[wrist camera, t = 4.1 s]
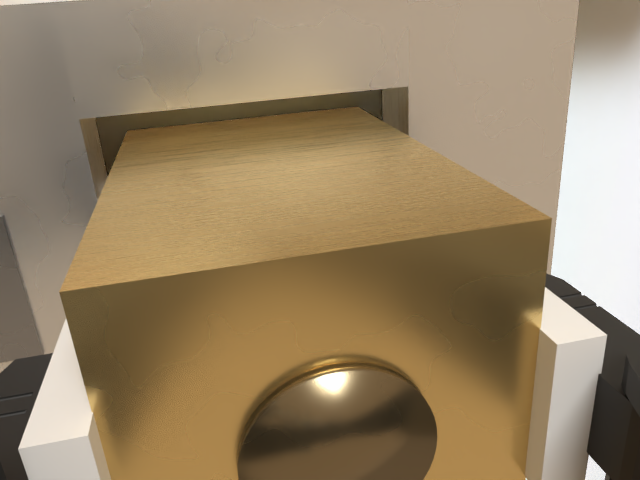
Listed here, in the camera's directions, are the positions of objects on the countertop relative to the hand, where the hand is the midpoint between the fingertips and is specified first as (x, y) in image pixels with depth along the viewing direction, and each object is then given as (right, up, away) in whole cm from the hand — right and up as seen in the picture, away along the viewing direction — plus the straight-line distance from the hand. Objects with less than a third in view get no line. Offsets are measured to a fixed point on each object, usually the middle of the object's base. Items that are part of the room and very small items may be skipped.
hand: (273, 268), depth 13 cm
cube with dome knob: (-1, +1, +3) cm, 3 cm away
